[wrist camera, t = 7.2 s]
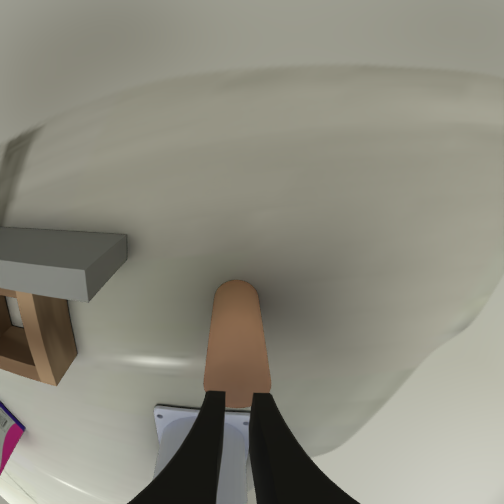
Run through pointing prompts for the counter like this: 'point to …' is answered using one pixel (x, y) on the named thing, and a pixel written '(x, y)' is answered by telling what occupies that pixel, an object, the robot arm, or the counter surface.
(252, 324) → the dowel
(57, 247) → the wall
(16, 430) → the supplement box
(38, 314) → the socket block
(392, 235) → the counter surface
